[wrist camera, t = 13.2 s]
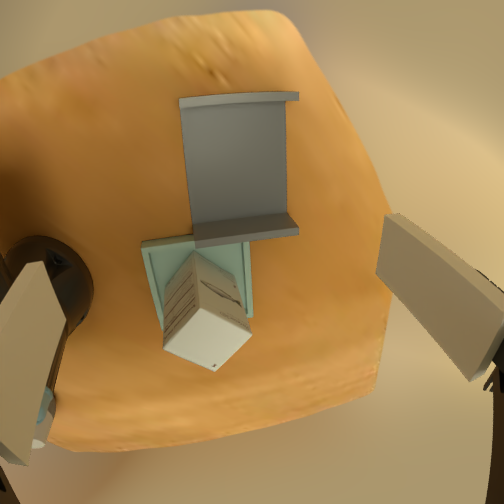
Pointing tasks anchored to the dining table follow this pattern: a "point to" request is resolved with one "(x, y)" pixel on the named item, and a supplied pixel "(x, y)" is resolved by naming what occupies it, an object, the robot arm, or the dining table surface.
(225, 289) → the supplement box
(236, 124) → the bay
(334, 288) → the dining table surface
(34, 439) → the smart speaker
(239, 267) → the tray
